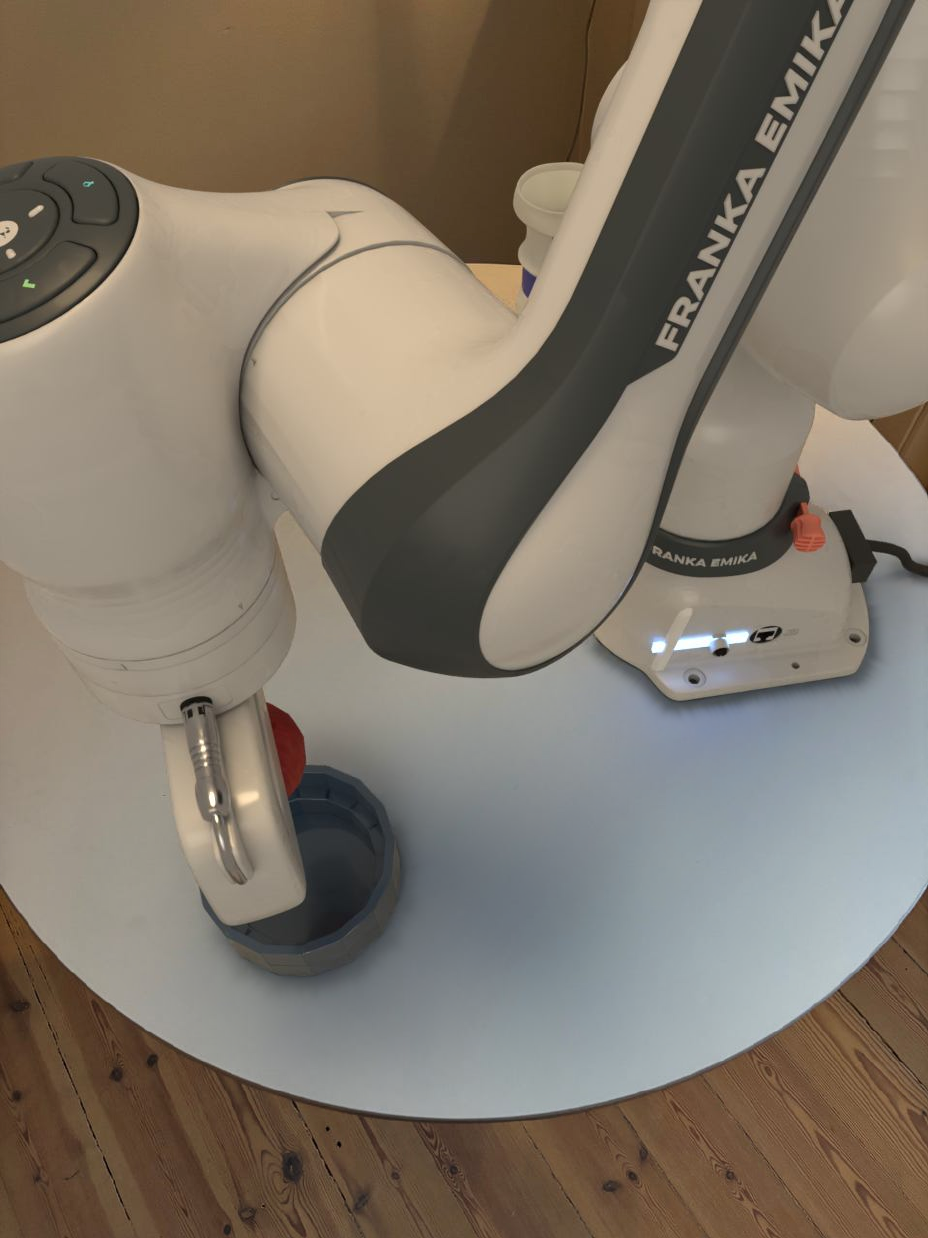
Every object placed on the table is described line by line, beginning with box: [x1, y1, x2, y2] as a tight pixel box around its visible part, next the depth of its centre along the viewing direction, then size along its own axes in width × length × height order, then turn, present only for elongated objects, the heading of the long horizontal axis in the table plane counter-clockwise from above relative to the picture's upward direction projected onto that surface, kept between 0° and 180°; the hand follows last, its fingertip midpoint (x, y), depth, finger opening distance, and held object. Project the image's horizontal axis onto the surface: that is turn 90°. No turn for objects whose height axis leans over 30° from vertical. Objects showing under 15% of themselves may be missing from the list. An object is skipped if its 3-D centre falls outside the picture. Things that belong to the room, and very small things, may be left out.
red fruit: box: [266, 701, 307, 798], centre depth 46 cm, size 6×6×8 cm
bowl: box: [198, 764, 402, 977], centre depth 59 cm, size 12×12×6 cm
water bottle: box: [512, 161, 585, 316], centre depth 79 cm, size 8×9×25 cm
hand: (250, 761), depth 47 cm, fingers closed on red fruit, 6 cm apart
